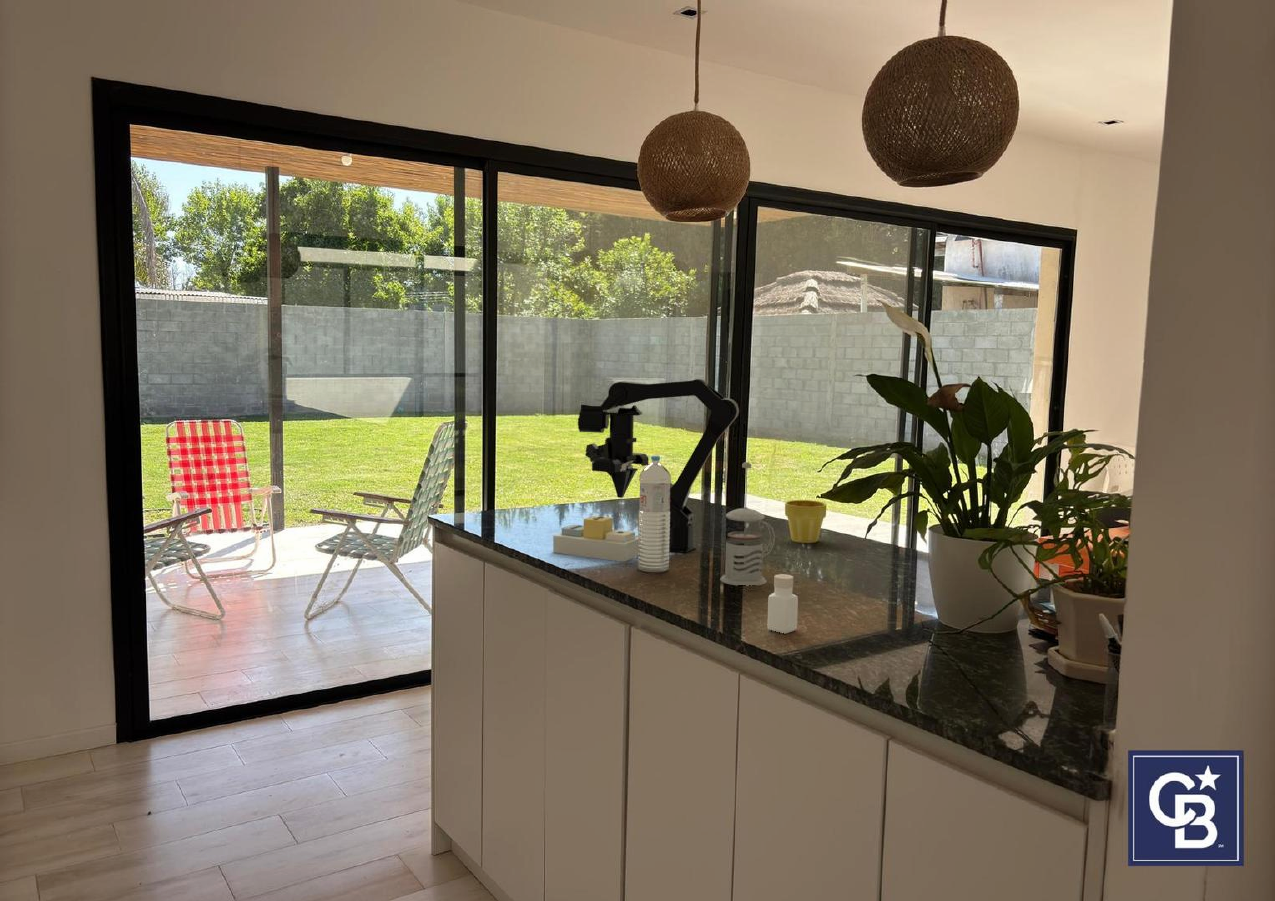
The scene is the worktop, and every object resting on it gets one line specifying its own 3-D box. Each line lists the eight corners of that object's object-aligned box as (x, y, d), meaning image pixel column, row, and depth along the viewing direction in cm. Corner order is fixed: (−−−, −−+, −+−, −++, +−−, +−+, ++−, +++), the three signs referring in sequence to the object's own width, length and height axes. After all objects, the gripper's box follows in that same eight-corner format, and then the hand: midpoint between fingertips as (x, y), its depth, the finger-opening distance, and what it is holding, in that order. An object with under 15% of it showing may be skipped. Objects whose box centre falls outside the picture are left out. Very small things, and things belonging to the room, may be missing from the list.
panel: (642, 554, 220) (642, 537, 220) (624, 561, 212) (624, 544, 212) (572, 545, 229) (573, 529, 228) (553, 552, 221) (553, 535, 220)
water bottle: (666, 574, 201) (668, 458, 198) (634, 572, 202) (636, 457, 200) (671, 567, 207) (673, 455, 205) (641, 565, 209) (643, 453, 206)
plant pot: (795, 545, 233) (797, 506, 232) (776, 537, 243) (778, 500, 242) (832, 543, 236) (834, 505, 235) (812, 535, 246) (813, 499, 245)
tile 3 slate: (590, 547, 224) (590, 525, 223) (579, 551, 220) (579, 529, 219) (572, 545, 226) (572, 523, 226) (561, 548, 222) (561, 527, 221)
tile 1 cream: (634, 553, 219) (635, 531, 218) (624, 557, 214) (625, 534, 214) (615, 550, 221) (616, 529, 220) (605, 554, 216) (605, 532, 216)
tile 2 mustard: (612, 538, 221) (612, 517, 220) (602, 542, 217) (602, 520, 216) (594, 536, 223) (594, 515, 223) (583, 540, 219) (583, 518, 218)
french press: (712, 576, 200) (715, 459, 197) (760, 572, 204) (764, 458, 201) (732, 587, 190) (736, 465, 188) (782, 583, 195) (787, 464, 192)
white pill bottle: (798, 630, 162) (800, 576, 161) (785, 635, 159) (787, 580, 158) (778, 625, 164) (780, 572, 163) (765, 630, 161) (767, 576, 160)
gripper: (610, 429, 238) (609, 490, 240) (572, 434, 221) (572, 499, 223) (650, 431, 233) (648, 493, 234) (614, 437, 216) (613, 503, 218)
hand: (620, 497), depth 228 cm, fingers closed
